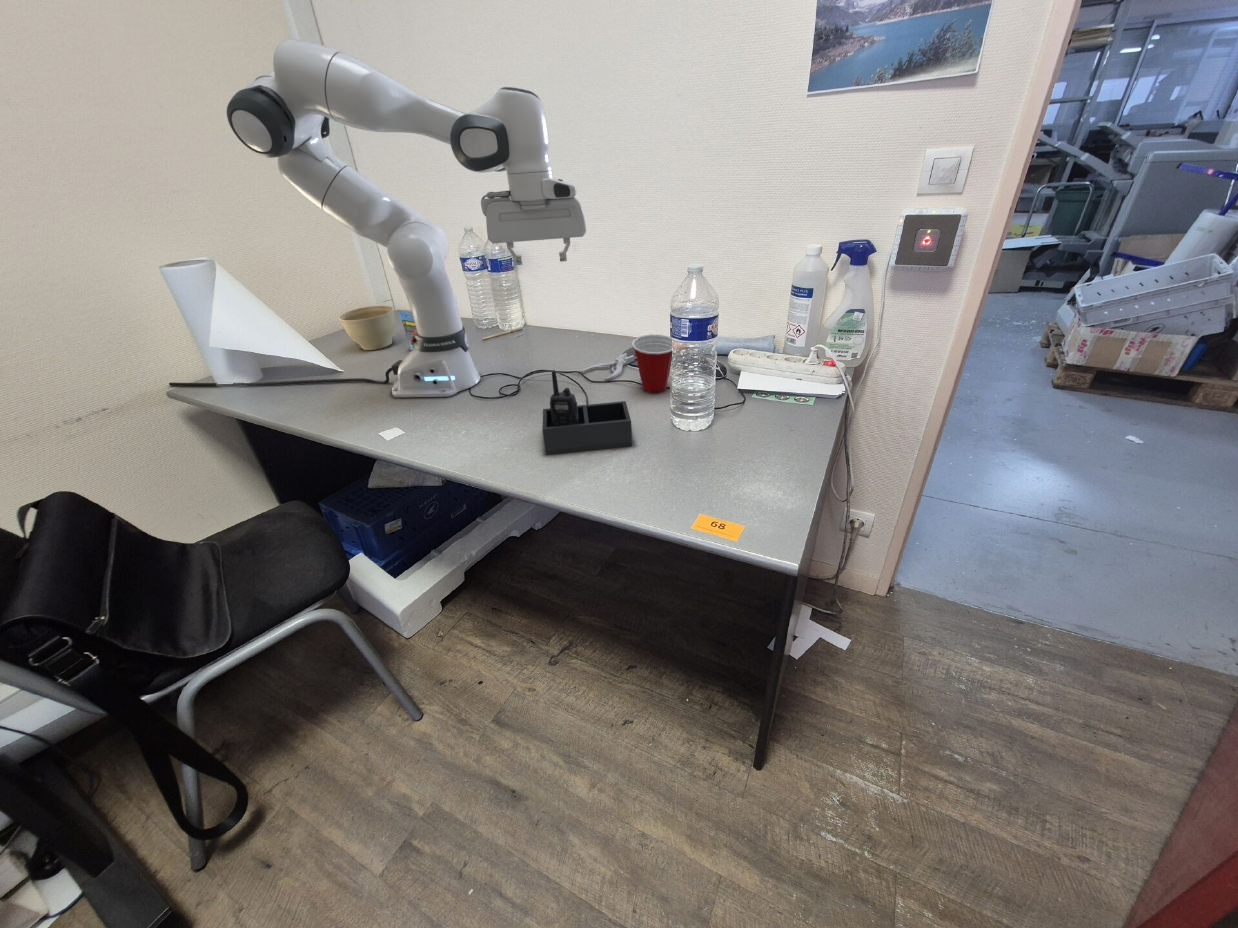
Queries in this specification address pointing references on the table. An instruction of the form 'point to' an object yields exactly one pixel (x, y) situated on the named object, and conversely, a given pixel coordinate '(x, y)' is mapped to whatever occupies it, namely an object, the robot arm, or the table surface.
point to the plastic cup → (653, 361)
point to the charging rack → (589, 429)
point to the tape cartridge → (408, 326)
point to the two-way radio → (563, 405)
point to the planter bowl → (370, 326)
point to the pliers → (619, 362)
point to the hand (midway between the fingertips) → (541, 262)
